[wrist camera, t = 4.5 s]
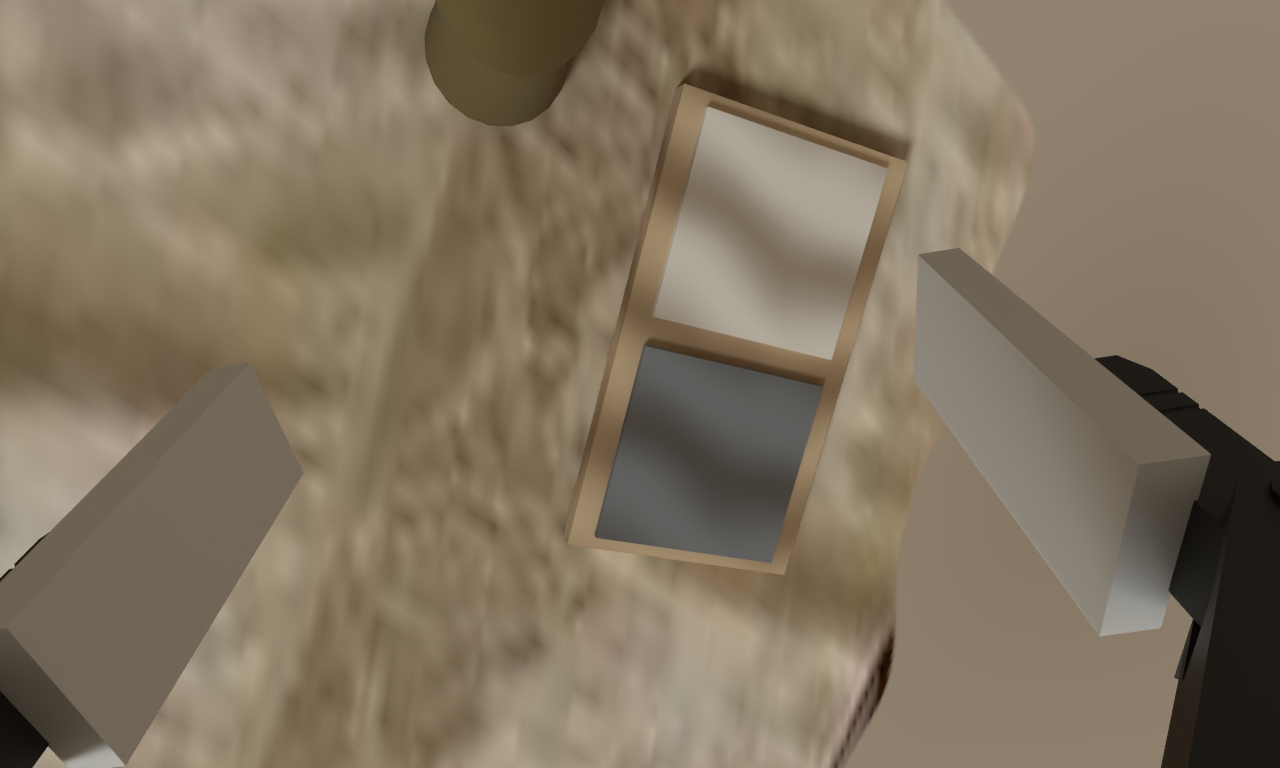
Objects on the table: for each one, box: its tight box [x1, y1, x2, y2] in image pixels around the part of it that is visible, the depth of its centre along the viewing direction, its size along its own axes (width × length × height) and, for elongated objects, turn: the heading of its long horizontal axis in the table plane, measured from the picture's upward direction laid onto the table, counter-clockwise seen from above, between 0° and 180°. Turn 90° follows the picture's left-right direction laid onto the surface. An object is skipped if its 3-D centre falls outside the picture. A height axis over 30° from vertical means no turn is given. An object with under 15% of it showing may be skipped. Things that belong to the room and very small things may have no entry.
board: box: [564, 83, 908, 575], centre depth 36 cm, size 22×12×2 cm, turn 165°
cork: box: [425, 0, 603, 126], centre depth 26 cm, size 6×6×11 cm
